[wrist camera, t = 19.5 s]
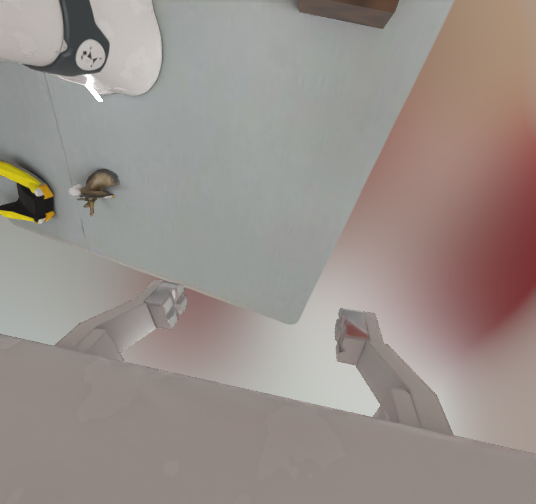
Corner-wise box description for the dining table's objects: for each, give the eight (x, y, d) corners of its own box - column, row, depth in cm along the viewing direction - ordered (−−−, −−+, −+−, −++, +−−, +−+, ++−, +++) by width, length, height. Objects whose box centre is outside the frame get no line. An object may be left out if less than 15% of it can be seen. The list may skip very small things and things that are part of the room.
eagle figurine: (112, 217, 51) (125, 199, 45) (72, 216, 45) (81, 195, 40) (105, 188, 52) (117, 167, 46) (65, 183, 46) (73, 158, 41)
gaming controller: (21, 206, 57) (57, 227, 58) (-6, 214, 52) (35, 236, 53) (12, 153, 48) (55, 178, 50) (-20, 157, 44) (28, 184, 45)
